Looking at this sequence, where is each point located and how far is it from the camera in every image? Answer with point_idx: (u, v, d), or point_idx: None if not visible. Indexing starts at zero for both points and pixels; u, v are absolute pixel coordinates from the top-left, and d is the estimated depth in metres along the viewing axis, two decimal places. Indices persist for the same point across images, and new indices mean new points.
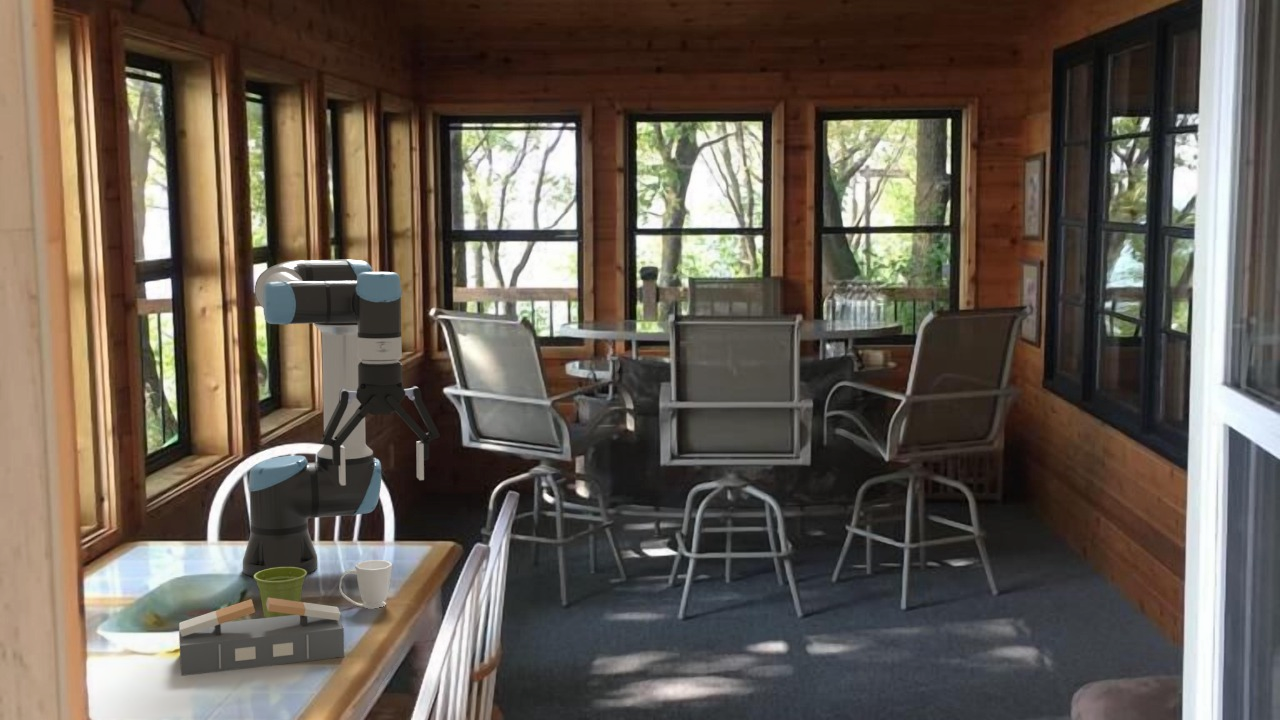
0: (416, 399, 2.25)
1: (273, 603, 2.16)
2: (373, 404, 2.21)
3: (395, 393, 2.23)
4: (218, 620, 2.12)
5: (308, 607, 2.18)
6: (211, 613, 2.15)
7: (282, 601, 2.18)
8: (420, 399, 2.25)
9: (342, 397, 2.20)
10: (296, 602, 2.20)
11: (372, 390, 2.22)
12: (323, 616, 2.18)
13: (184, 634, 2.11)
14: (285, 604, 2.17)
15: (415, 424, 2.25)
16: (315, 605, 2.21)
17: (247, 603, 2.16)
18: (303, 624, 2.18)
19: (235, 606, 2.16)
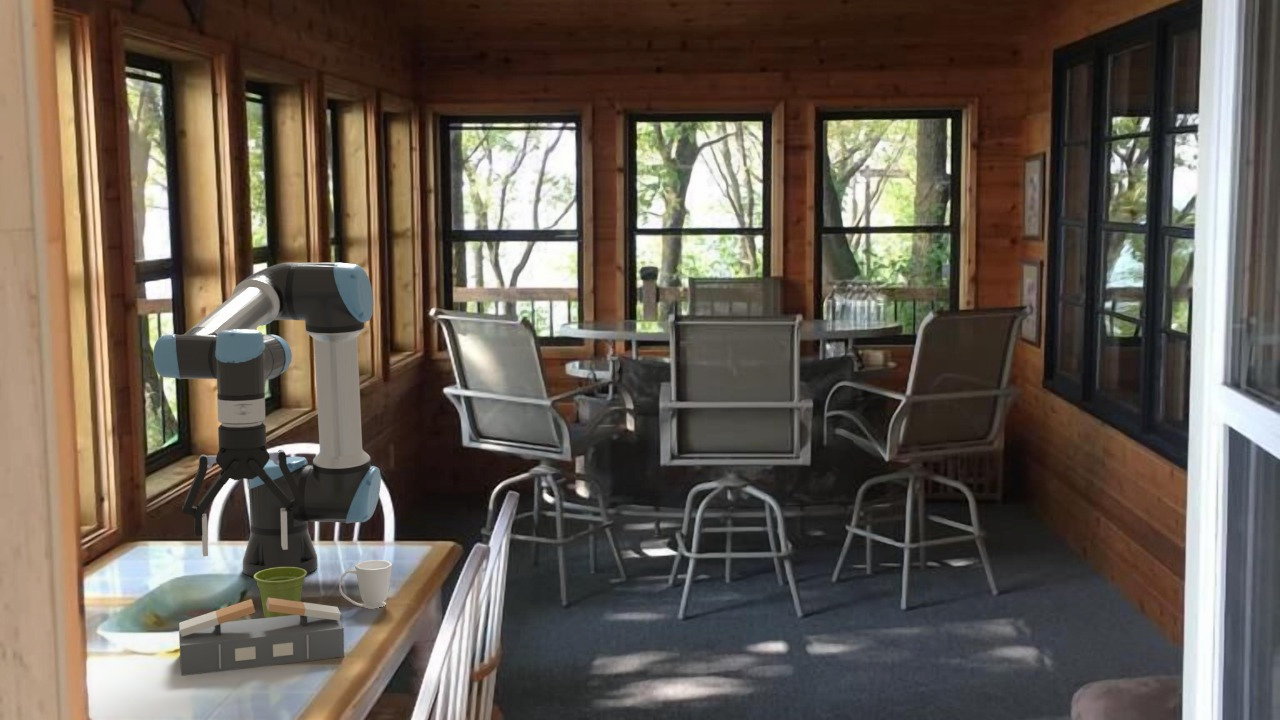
0: (281, 464, 2.14)
1: (273, 603, 2.16)
2: (234, 469, 2.10)
3: (258, 457, 2.12)
4: (218, 620, 2.12)
5: (308, 607, 2.18)
6: (211, 613, 2.15)
7: (282, 601, 2.18)
8: (285, 464, 2.14)
9: (200, 463, 2.09)
10: (296, 602, 2.20)
11: (233, 454, 2.11)
12: (323, 616, 2.18)
13: (184, 634, 2.11)
14: (285, 604, 2.17)
15: (278, 490, 2.14)
16: (315, 605, 2.21)
17: (247, 603, 2.16)
18: (303, 624, 2.18)
19: (235, 606, 2.16)
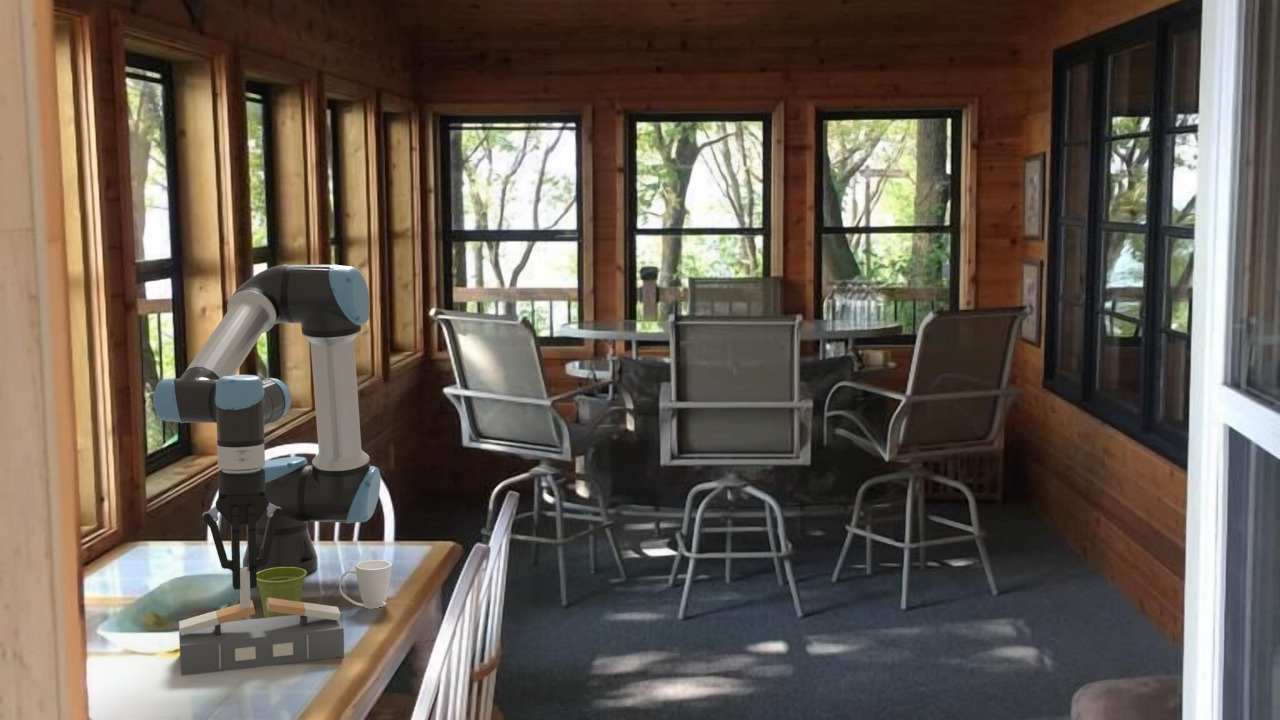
0: (272, 518, 2.14)
1: (273, 603, 2.16)
2: (237, 514, 2.11)
3: (259, 500, 2.13)
4: (218, 620, 2.12)
5: (308, 607, 2.18)
6: (211, 613, 2.15)
7: (282, 601, 2.18)
8: (275, 521, 2.14)
9: (206, 521, 2.10)
10: (296, 602, 2.20)
11: (227, 496, 2.11)
12: (323, 616, 2.18)
13: (184, 633, 2.10)
14: (285, 604, 2.17)
15: (254, 546, 2.14)
16: (315, 605, 2.21)
17: None
18: (303, 624, 2.18)
19: (235, 607, 2.16)
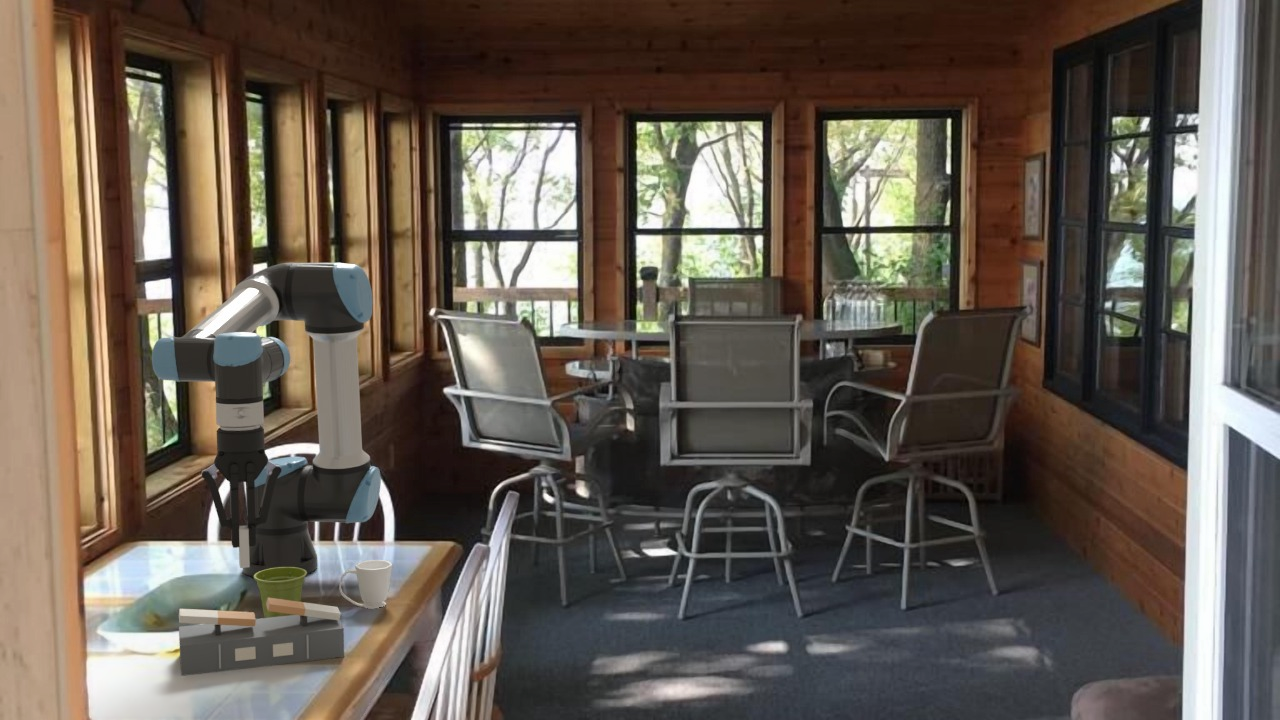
0: (271, 476, 2.13)
1: (273, 603, 2.16)
2: (236, 472, 2.11)
3: (258, 458, 2.12)
4: (218, 620, 2.12)
5: (308, 607, 2.18)
6: (212, 611, 2.15)
7: (282, 601, 2.18)
8: (274, 479, 2.14)
9: (205, 479, 2.10)
10: (296, 602, 2.20)
11: (225, 453, 2.10)
12: (323, 616, 2.18)
13: (182, 621, 2.10)
14: (285, 604, 2.17)
15: (253, 504, 2.13)
16: (315, 605, 2.21)
17: (250, 614, 2.16)
18: (303, 624, 2.18)
19: (237, 613, 2.16)
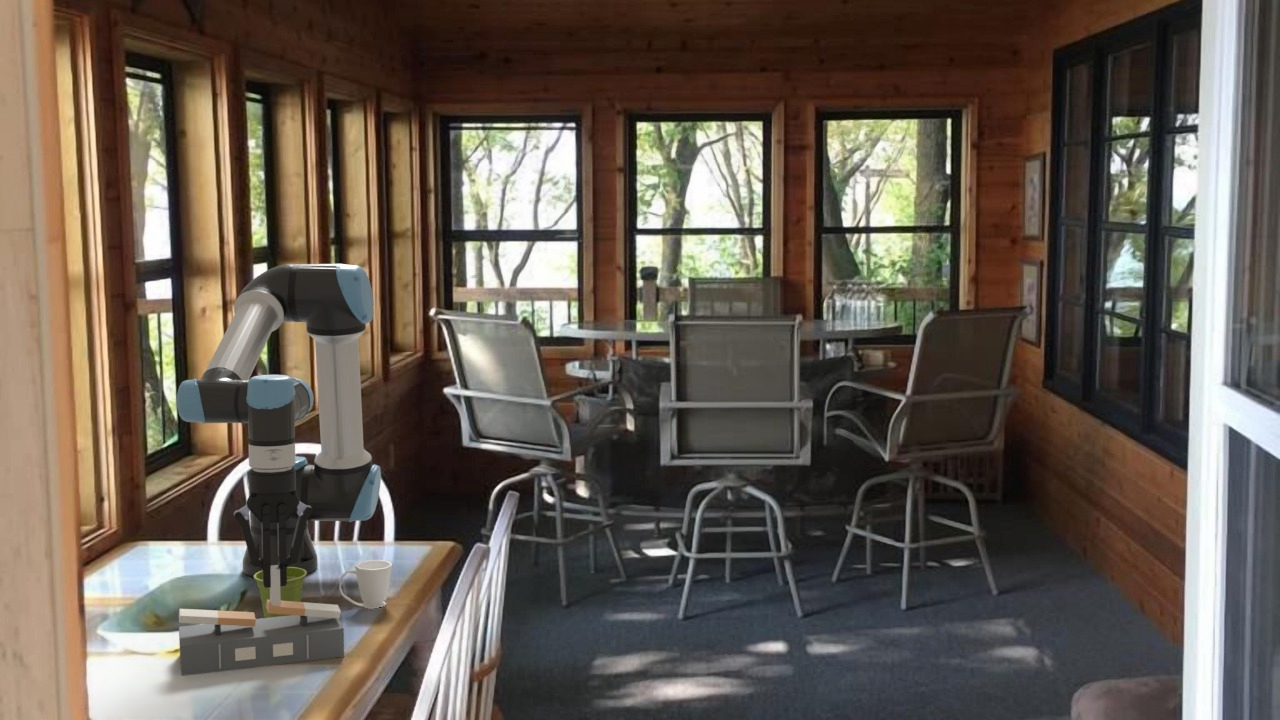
0: (302, 517, 2.16)
1: None
2: (268, 513, 2.13)
3: (290, 499, 2.15)
4: (218, 620, 2.12)
5: (308, 607, 2.18)
6: (212, 611, 2.15)
7: (281, 602, 2.18)
8: (306, 519, 2.16)
9: (238, 520, 2.12)
10: (296, 602, 2.20)
11: (258, 494, 2.13)
12: (323, 615, 2.18)
13: (182, 621, 2.10)
14: (285, 605, 2.17)
15: (284, 545, 2.15)
16: (315, 604, 2.21)
17: (250, 614, 2.16)
18: (303, 624, 2.18)
19: (237, 613, 2.16)
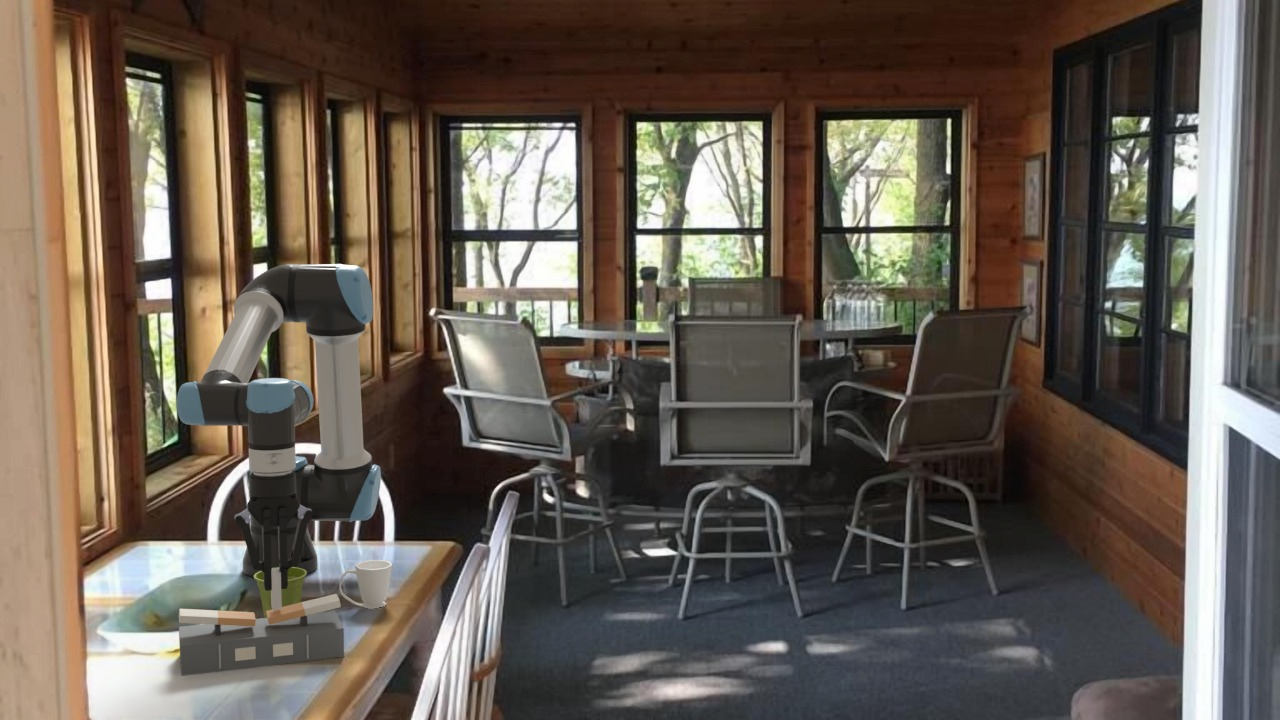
0: (303, 520, 2.16)
1: (271, 615, 2.16)
2: (269, 516, 2.13)
3: (290, 502, 2.15)
4: (218, 620, 2.12)
5: (306, 606, 2.18)
6: (212, 611, 2.15)
7: None
8: (306, 523, 2.17)
9: (238, 523, 2.12)
10: (294, 605, 2.20)
11: (258, 498, 2.13)
12: (324, 609, 2.18)
13: (182, 621, 2.10)
14: (284, 612, 2.17)
15: (285, 548, 2.16)
16: (314, 600, 2.21)
17: (250, 614, 2.16)
18: (303, 624, 2.18)
19: (237, 613, 2.16)
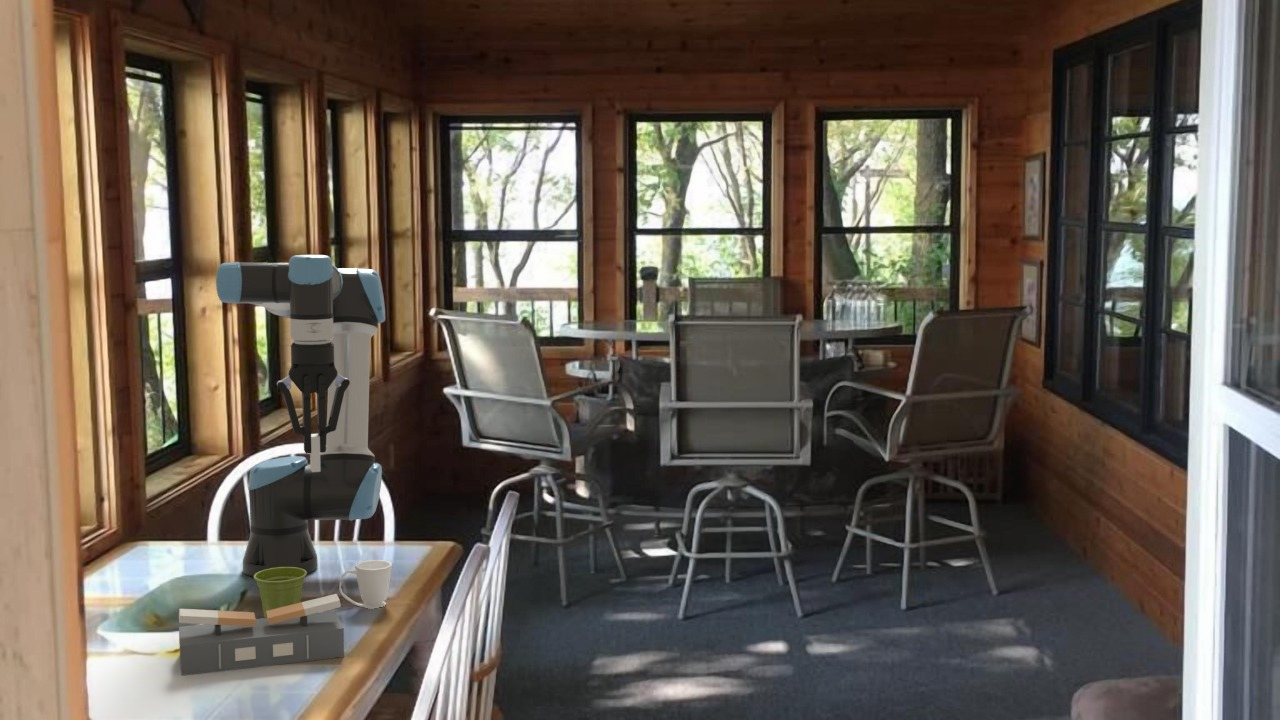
0: (340, 388, 2.32)
1: (271, 615, 2.16)
2: (309, 383, 2.29)
3: (328, 370, 2.30)
4: (218, 620, 2.12)
5: (306, 606, 2.18)
6: (212, 611, 2.15)
7: (280, 609, 2.18)
8: (343, 390, 2.32)
9: (281, 389, 2.28)
10: (294, 605, 2.20)
11: (299, 365, 2.29)
12: (324, 609, 2.18)
13: (182, 621, 2.10)
14: (284, 612, 2.17)
15: (324, 413, 2.31)
16: (314, 600, 2.21)
17: (250, 614, 2.16)
18: (303, 624, 2.18)
19: (237, 613, 2.16)
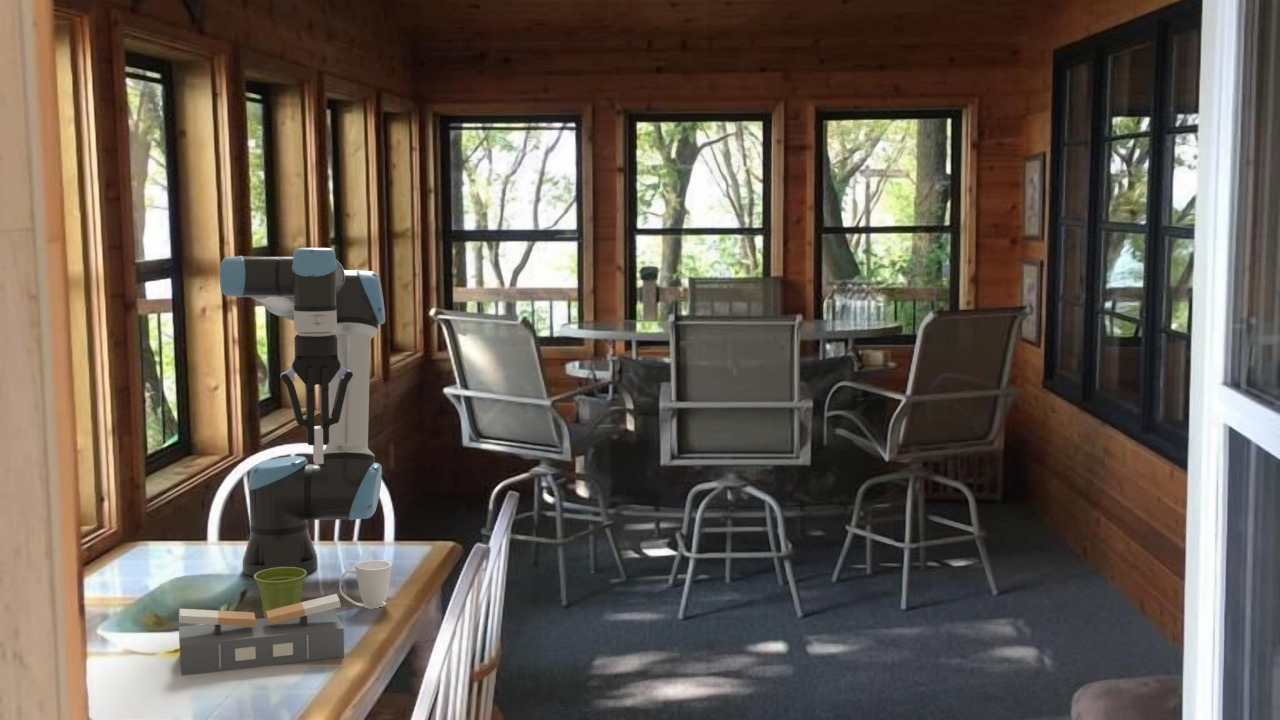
0: (343, 380, 2.33)
1: (271, 615, 2.16)
2: (312, 375, 2.30)
3: (332, 362, 2.32)
4: (218, 620, 2.12)
5: (306, 606, 2.18)
6: (212, 611, 2.15)
7: (280, 609, 2.18)
8: (346, 382, 2.33)
9: (284, 381, 2.29)
10: (294, 605, 2.20)
11: (303, 357, 2.30)
12: (324, 609, 2.18)
13: (182, 621, 2.10)
14: (284, 612, 2.17)
15: (327, 405, 2.32)
16: (314, 600, 2.21)
17: (250, 614, 2.16)
18: (303, 624, 2.18)
19: (237, 613, 2.16)
